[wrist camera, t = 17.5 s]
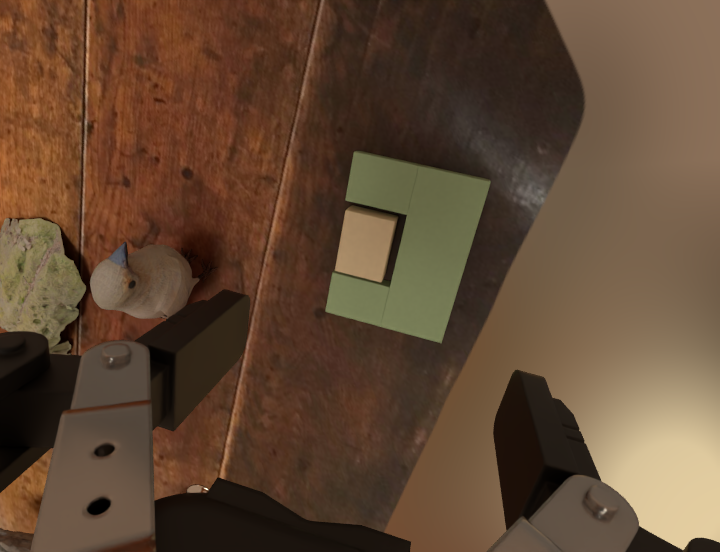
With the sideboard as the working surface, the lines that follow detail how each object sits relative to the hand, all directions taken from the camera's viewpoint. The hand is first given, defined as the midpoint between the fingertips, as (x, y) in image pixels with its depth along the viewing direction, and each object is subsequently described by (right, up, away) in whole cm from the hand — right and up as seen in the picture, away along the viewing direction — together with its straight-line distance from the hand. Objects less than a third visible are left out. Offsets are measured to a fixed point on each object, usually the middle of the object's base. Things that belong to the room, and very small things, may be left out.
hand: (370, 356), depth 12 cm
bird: (-18, +4, +33) cm, 38 cm away
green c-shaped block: (+4, +5, +28) cm, 28 cm away
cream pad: (+1, +6, +28) cm, 29 cm away
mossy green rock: (-38, +2, +38) cm, 54 cm away
